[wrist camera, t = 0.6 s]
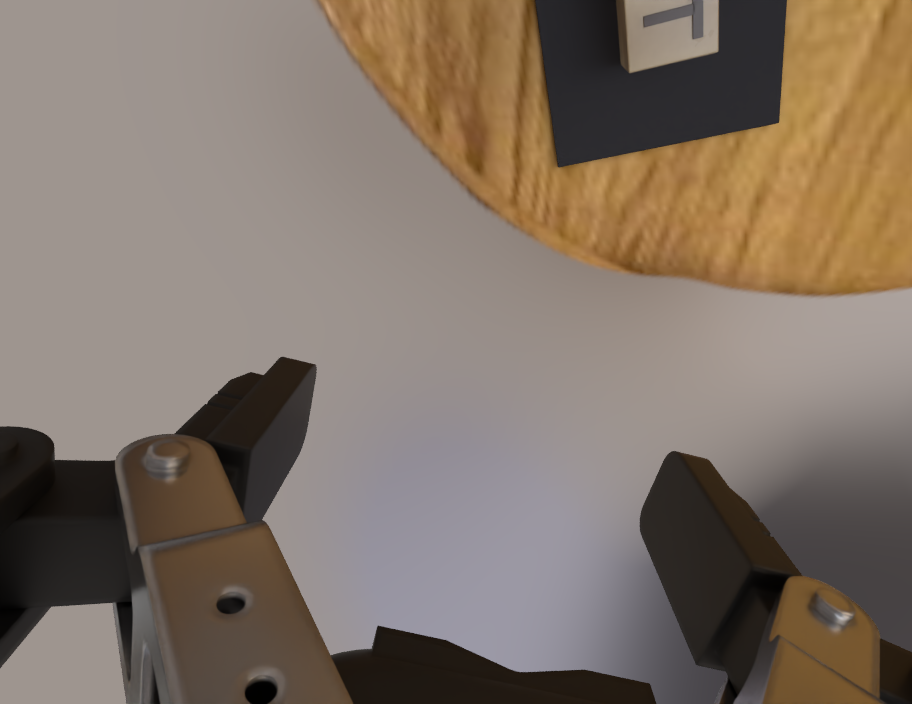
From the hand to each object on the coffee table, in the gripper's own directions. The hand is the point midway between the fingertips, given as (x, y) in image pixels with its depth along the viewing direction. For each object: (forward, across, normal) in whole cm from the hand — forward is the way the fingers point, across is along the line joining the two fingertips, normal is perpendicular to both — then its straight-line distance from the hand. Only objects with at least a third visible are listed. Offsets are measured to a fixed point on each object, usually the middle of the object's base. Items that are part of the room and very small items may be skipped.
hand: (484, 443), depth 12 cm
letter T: (+22, -6, -14) cm, 27 cm away
